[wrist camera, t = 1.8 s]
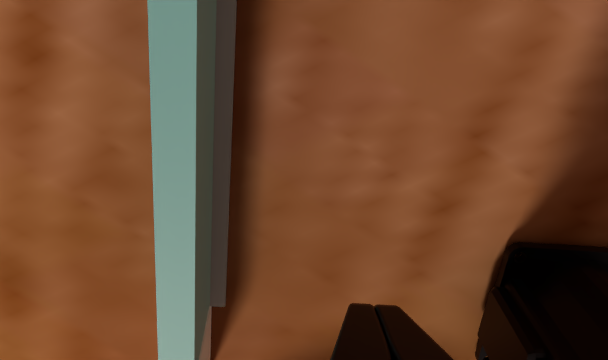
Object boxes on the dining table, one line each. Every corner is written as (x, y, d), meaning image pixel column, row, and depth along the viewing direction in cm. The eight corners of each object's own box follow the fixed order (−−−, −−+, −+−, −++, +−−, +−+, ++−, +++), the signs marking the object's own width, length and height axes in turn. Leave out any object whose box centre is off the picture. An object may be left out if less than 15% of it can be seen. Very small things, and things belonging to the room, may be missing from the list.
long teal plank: (178, -86, 16) (144, -93, 12) (218, -83, 16) (197, -88, 12) (180, 301, 22) (158, 379, 18) (210, 302, 22) (194, 381, 18)
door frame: (250, -370, 14) (233, -525, 9) (223, 372, 25) (208, 475, 20) (158, -383, 14) (92, -548, 9) (171, 369, 25) (144, 473, 20)
